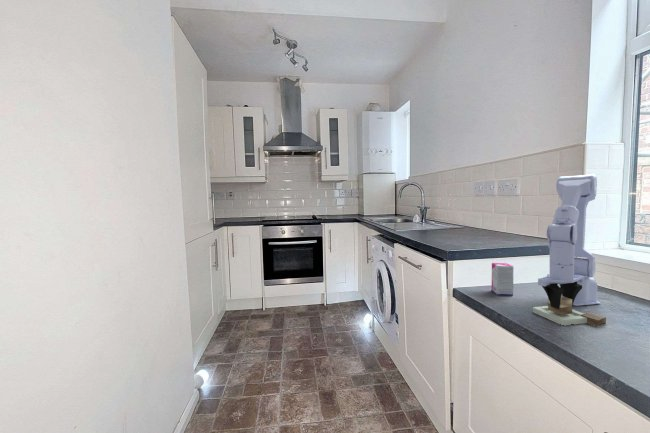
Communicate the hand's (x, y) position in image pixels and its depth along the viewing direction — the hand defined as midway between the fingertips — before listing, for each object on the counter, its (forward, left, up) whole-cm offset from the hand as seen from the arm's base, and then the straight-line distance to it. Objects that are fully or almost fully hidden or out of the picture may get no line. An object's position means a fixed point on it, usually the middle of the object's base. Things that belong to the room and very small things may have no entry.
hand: (561, 306), depth 85 cm
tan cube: (0, 0, -2) cm, 2 cm away
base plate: (0, 0, -3) cm, 3 cm away
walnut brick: (-5, +5, -3) cm, 8 cm away
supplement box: (+1, -23, -3) cm, 23 cm away
